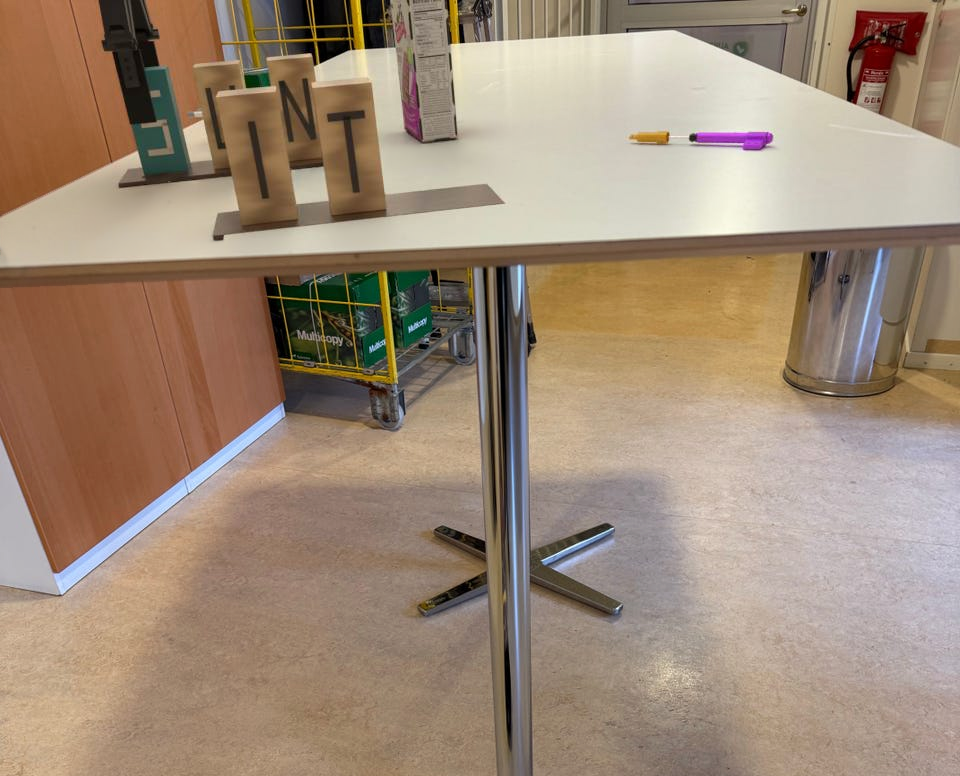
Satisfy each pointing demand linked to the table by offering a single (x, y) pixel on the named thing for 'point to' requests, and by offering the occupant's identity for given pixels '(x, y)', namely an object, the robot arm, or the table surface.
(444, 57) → the candy bar box
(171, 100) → the teal rectangular slab
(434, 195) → the front word
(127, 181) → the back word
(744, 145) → the marker pen
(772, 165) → the table surface
